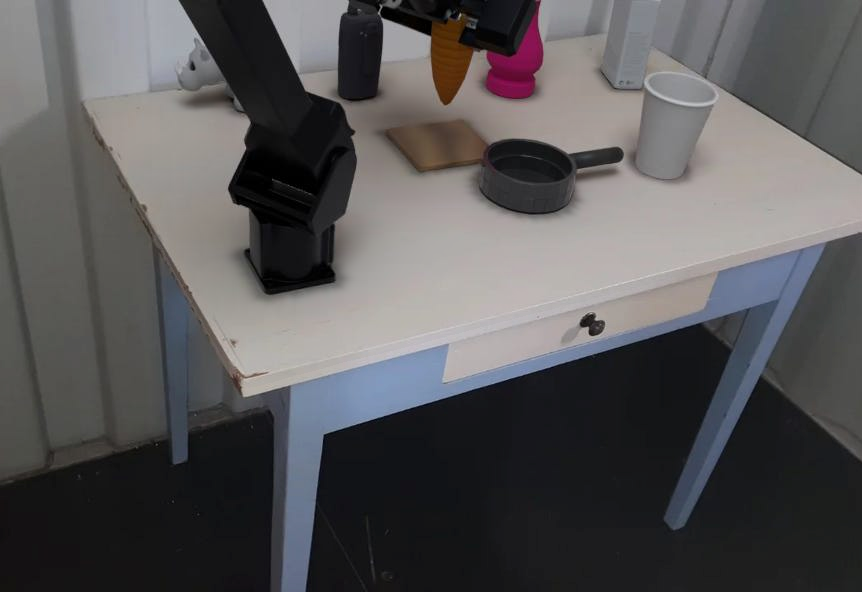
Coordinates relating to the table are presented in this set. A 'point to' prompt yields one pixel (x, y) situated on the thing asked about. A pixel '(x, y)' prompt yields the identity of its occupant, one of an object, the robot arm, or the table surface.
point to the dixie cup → (672, 122)
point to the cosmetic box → (629, 42)
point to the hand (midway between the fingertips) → (458, 41)
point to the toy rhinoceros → (201, 72)
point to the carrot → (449, 58)
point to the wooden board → (439, 144)
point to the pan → (527, 175)
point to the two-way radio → (359, 53)
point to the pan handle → (597, 157)
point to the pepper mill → (517, 65)
